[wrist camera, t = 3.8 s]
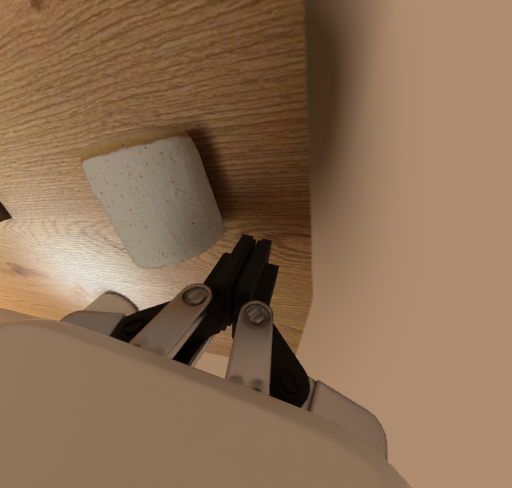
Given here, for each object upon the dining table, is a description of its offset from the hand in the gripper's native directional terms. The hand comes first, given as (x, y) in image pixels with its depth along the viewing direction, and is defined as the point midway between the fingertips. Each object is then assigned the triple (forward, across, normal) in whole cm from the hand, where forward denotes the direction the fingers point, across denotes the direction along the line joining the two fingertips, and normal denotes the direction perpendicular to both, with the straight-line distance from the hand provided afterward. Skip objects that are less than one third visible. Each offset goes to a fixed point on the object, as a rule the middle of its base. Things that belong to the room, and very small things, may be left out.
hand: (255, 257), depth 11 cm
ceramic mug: (+7, +9, 0) cm, 12 cm away
